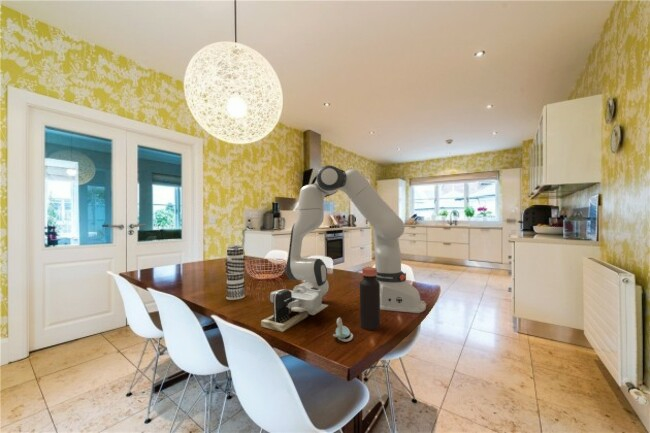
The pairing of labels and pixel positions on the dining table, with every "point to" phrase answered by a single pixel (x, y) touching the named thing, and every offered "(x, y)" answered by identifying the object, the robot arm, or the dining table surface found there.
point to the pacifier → (342, 331)
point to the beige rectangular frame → (287, 324)
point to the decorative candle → (235, 272)
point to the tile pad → (310, 311)
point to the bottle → (369, 300)
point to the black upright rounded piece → (281, 305)
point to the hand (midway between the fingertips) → (281, 304)
